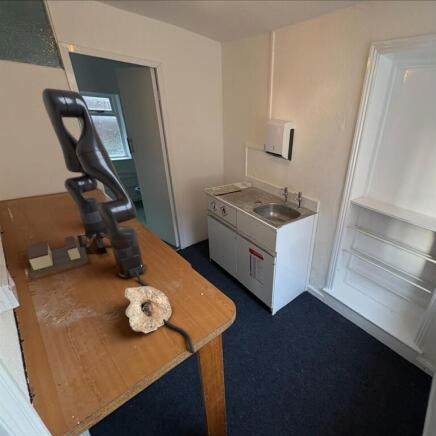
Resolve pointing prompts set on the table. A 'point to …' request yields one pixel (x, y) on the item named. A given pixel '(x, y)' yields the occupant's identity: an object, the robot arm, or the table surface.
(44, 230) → the table surface
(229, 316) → the table surface
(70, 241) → the cake slice
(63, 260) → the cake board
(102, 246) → the knife
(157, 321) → the seashell
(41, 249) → the cake
